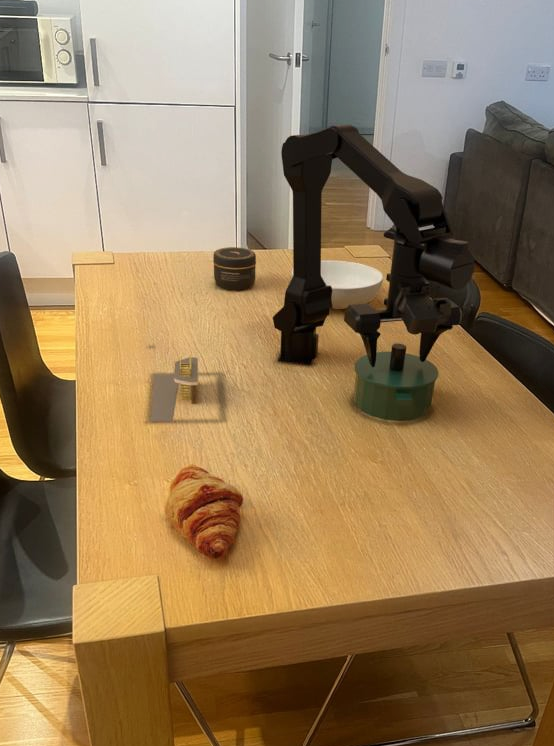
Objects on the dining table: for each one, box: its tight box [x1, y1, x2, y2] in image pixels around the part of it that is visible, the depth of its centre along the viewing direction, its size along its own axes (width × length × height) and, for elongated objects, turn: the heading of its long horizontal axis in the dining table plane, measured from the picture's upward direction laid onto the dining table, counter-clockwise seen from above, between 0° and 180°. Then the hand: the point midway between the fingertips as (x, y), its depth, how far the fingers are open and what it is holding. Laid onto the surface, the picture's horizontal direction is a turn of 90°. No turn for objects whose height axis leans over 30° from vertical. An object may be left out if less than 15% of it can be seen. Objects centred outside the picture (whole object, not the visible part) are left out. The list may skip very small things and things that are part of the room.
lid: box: [353, 343, 439, 389], centre depth 128 cm, size 14×14×5 cm
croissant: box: [164, 463, 244, 559], centre depth 100 cm, size 21×10×8 cm, turn 18°
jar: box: [212, 246, 257, 292], centre depth 179 cm, size 10×10×8 cm
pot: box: [353, 372, 436, 422], centre depth 131 cm, size 13×19×6 cm
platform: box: [149, 354, 199, 423], centre depth 130 cm, size 12×18×7 cm, turn 7°
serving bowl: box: [290, 259, 384, 310], centre depth 172 cm, size 21×21×7 cm
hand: (397, 363), depth 128 cm, fingers open, 9 cm apart
